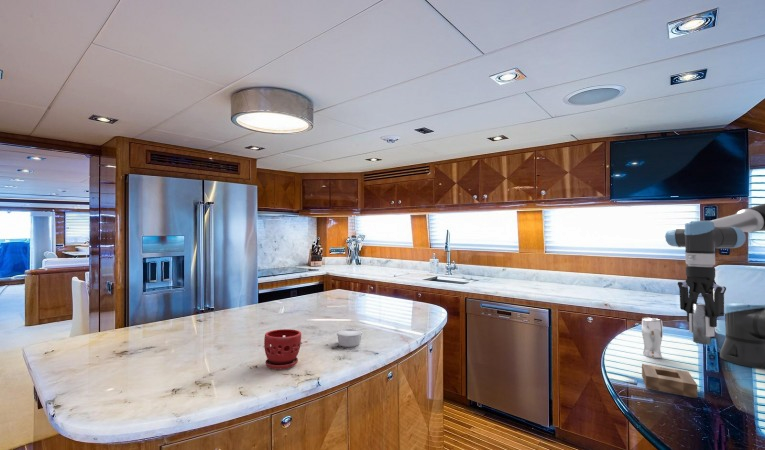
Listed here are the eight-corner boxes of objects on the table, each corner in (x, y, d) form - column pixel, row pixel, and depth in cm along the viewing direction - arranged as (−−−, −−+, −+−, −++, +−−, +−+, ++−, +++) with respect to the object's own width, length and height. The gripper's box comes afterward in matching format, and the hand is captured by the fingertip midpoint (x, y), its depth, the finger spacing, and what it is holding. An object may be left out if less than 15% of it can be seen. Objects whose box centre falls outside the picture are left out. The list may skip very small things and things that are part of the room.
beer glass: (667, 359, 139) (666, 321, 139) (647, 358, 140) (647, 320, 140) (657, 353, 145) (656, 318, 146) (638, 352, 147) (638, 317, 147)
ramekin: (358, 339, 161) (358, 327, 161) (364, 346, 150) (365, 334, 150) (334, 341, 157) (334, 329, 157) (339, 349, 147) (339, 336, 147)
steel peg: (708, 342, 118) (707, 304, 119) (712, 345, 115) (711, 306, 115) (691, 339, 121) (691, 302, 121) (694, 343, 117) (694, 304, 117)
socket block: (688, 383, 116) (688, 371, 116) (697, 398, 105) (697, 385, 105) (642, 375, 122) (641, 363, 122) (646, 388, 112) (645, 375, 112)
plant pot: (299, 371, 122) (300, 336, 123) (260, 372, 120) (261, 338, 121) (301, 358, 135) (302, 327, 136) (267, 359, 133) (267, 328, 133)
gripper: (665, 263, 126) (667, 328, 126) (721, 268, 109) (723, 342, 109) (681, 263, 128) (683, 326, 127) (739, 267, 111) (741, 341, 110)
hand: (701, 333), depth 118 cm, fingers closed on steel peg, 4 cm apart
